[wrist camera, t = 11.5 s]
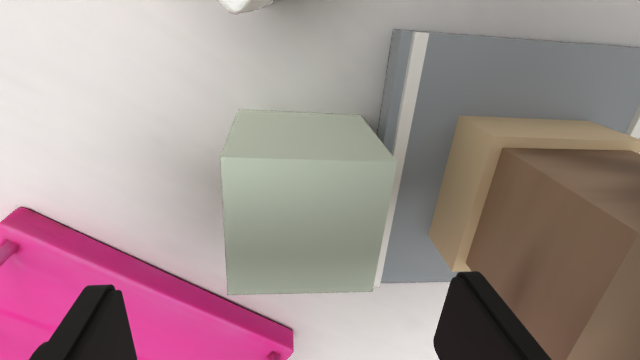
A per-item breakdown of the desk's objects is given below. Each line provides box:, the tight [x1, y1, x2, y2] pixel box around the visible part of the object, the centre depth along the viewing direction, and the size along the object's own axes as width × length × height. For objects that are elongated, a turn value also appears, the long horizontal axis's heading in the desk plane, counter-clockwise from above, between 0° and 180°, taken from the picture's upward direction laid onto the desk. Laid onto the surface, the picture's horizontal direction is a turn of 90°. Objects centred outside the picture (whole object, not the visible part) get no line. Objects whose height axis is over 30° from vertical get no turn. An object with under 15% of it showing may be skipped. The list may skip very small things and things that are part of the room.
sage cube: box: [220, 109, 397, 295], centre depth 16 cm, size 6×6×6 cm
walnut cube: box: [466, 148, 640, 360], centre depth 13 cm, size 6×6×6 cm
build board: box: [373, 29, 640, 287], centre depth 18 cm, size 14×14×4 cm
